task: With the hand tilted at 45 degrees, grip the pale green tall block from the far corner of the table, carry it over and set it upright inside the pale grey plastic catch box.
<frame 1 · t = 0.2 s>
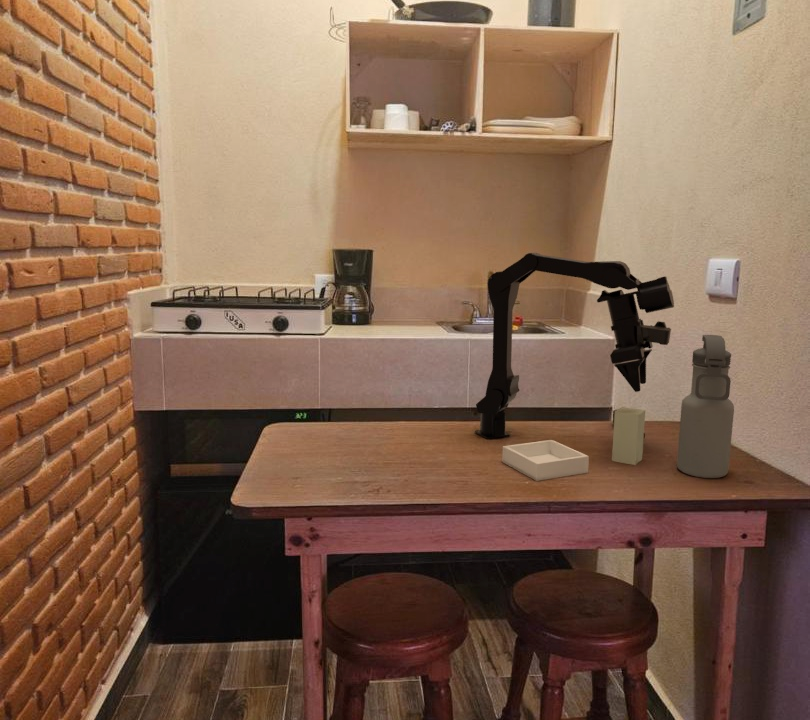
hand: (640, 387, 146), 15 cm above the table, tool tilted 15°, fingers open, 9 cm apart
catch box: (544, 467, 140), on the table
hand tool: (622, 435, 165), on the table
pale green tall block: (626, 460, 145), on the table
water bottle: (701, 472, 138), on the table
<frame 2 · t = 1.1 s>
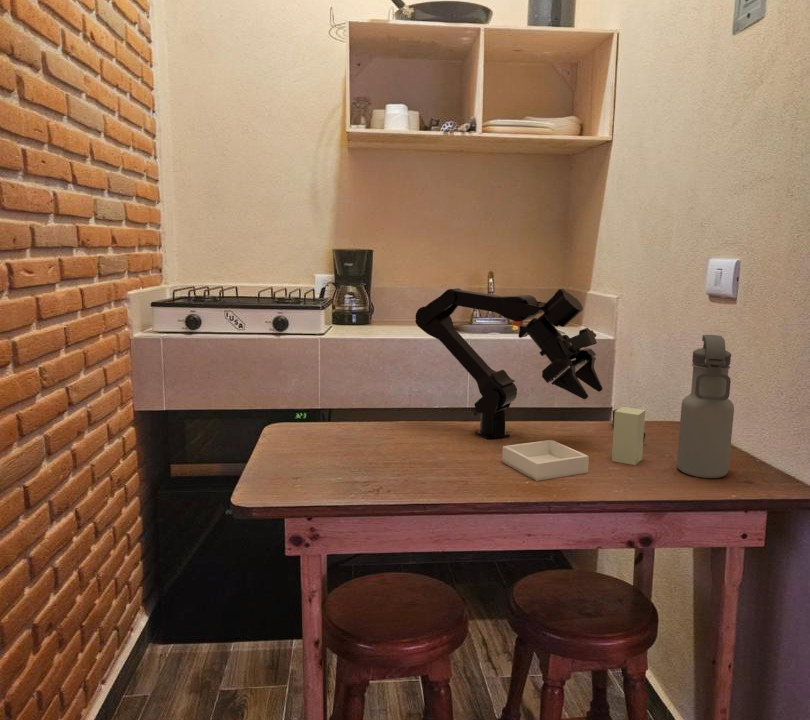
hand: (594, 394, 147), 13 cm above the table, tool tilted 45°, fingers open, 9 cm apart
nothing on the table moved.
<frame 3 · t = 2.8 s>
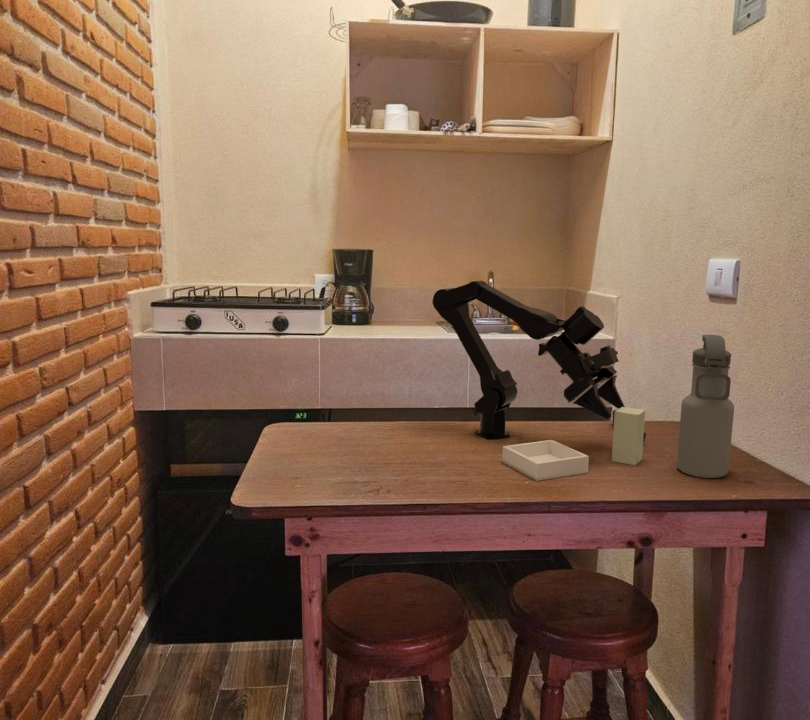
hand: (616, 413, 145), 10 cm above the table, tool tilted 45°, fingers open, 9 cm apart
nothing on the table moved.
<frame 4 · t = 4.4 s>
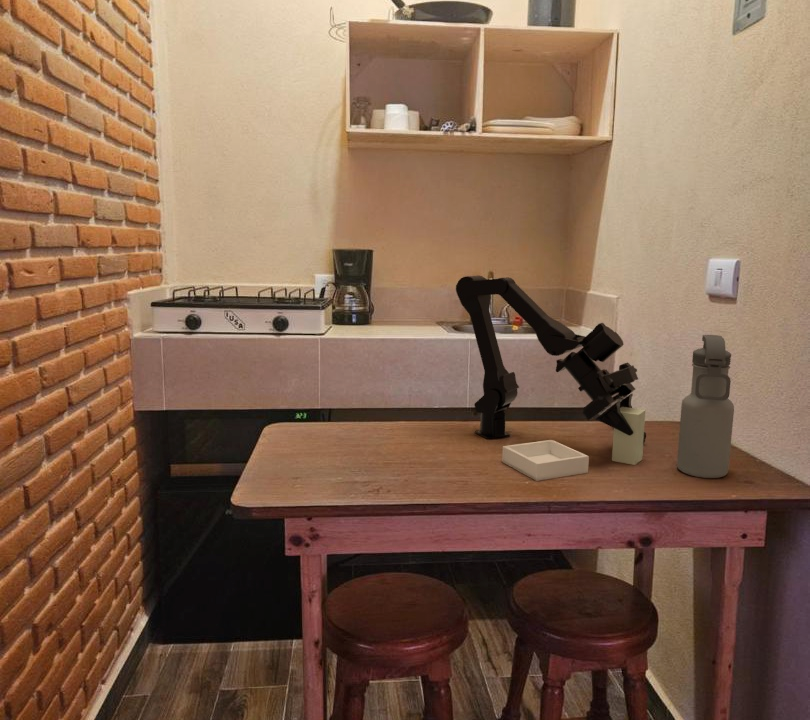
hand: (635, 431, 143), 7 cm above the table, tool tilted 45°, fingers closed on pale green tall block, 5 cm apart
pale green tall block: (627, 459, 145), on the table, touching gripper
everything else where it was.
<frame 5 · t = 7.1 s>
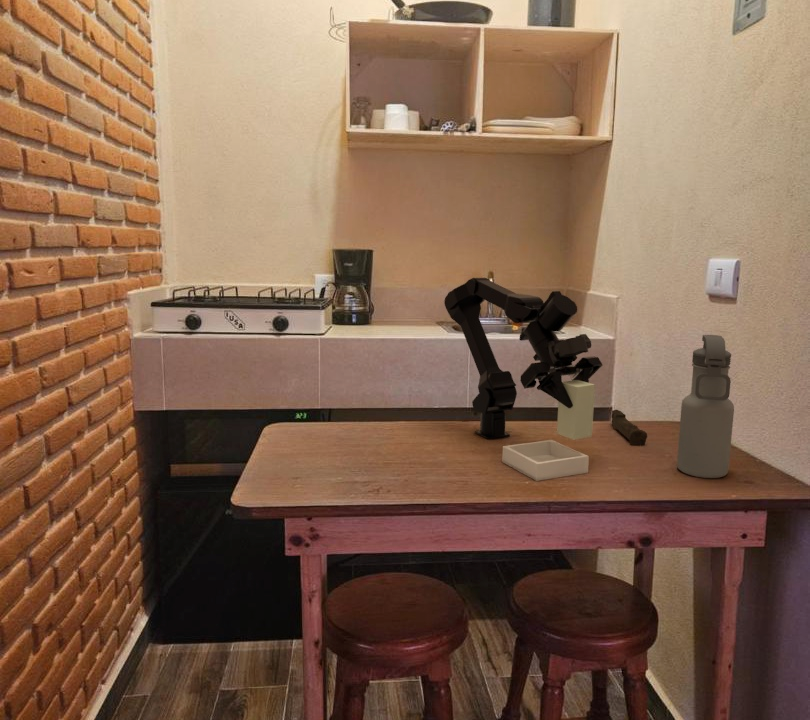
hand: (580, 405, 137), 14 cm above the table, tool tilted 45°, fingers closed on pale green tall block, 5 cm apart
pale green tall block: (574, 435, 139), point 7 cm above the table, touching gripper
everything else where it was.
when the fingers open (9 cm above the table, at t = 9.6 s): pale green tall block drops 1 cm, resting on catch box.
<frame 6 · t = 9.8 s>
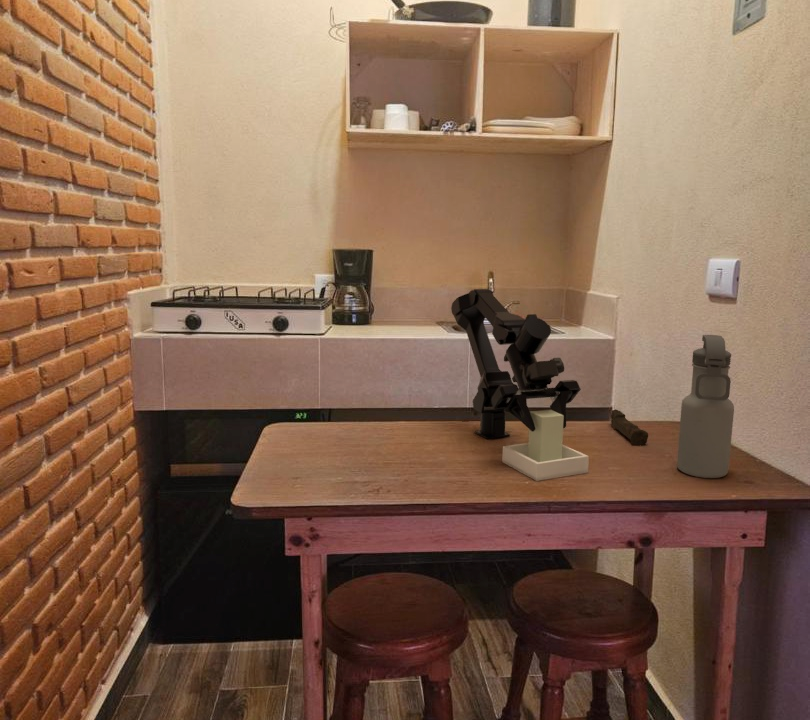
hand: (549, 429, 137), 9 cm above the table, tool tilted 45°, fingers open, 7 cm apart
pale green tall block: (544, 464, 140), point 1 cm above the table, touching catch box
everything else where it was.
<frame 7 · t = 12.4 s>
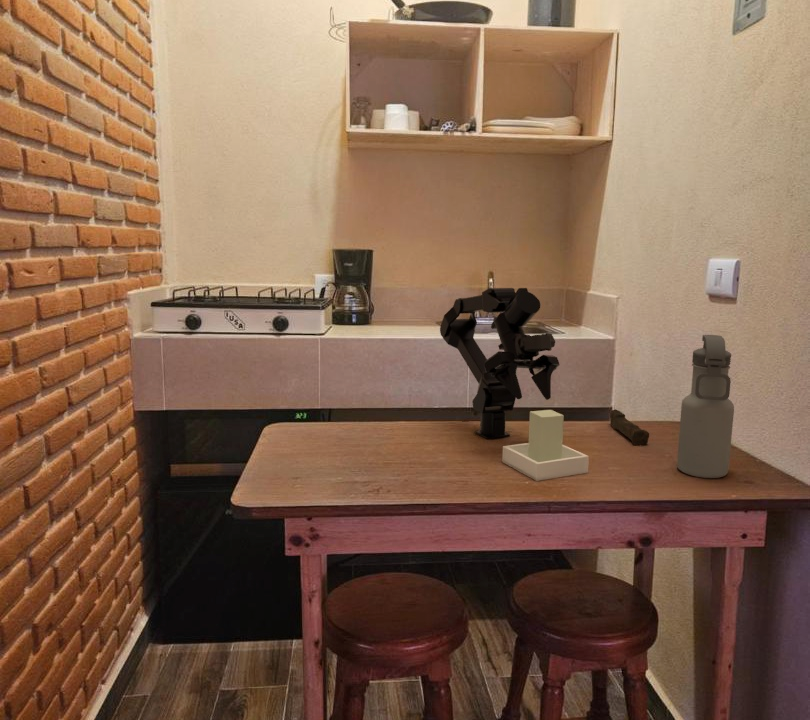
hand: (534, 398, 146), 13 cm above the table, tool tilted 35°, fingers open, 9 cm apart
nothing on the table moved.
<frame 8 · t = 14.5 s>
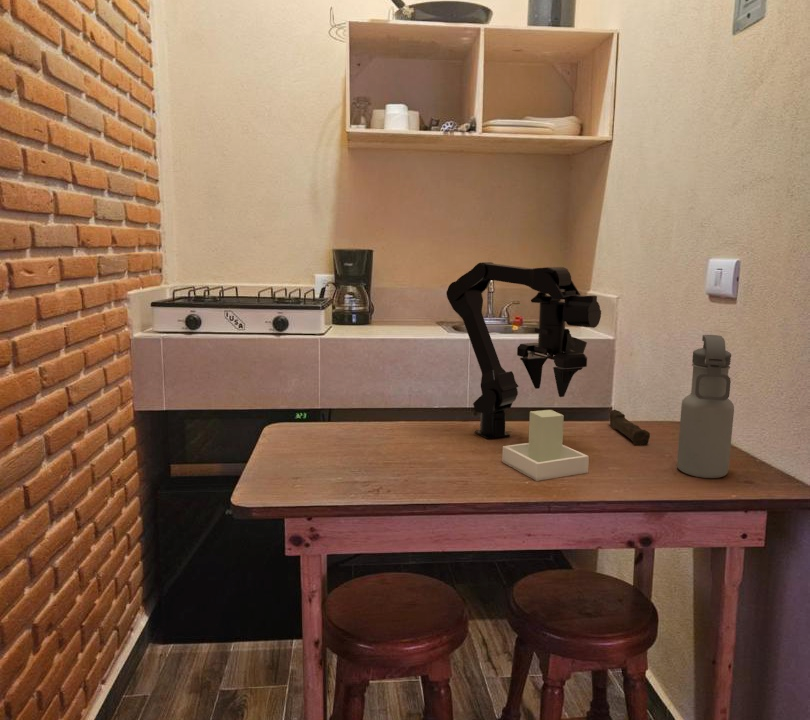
hand: (549, 392, 151), 13 cm above the table, tool pointing down, fingers open, 9 cm apart
nothing on the table moved.
at the end: pale green tall block 0.0 cm off-centre on the catch box, point 0.6 cm above the catch box's base; pale green tall block tilted 0°; the gripper is holding nothing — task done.
